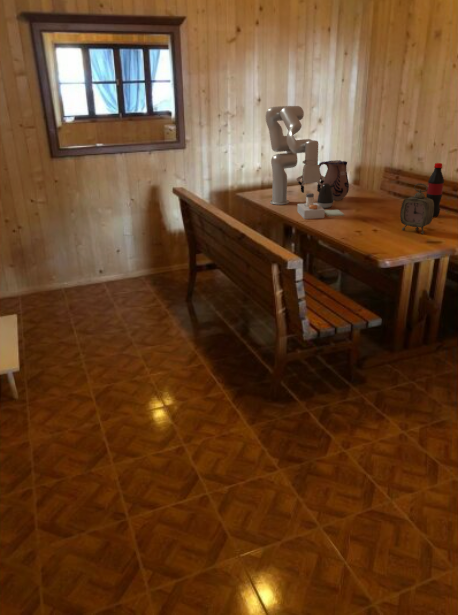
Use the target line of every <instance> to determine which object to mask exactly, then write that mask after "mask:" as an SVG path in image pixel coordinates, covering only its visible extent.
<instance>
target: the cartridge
mask: <svg viewBox="0 0 458 615" xmlns="http://www.w3.org/2000/svg"><path fill="white" fill-rule="evenodd" d="M305 196H306V197H305V203H306V207H309V205H313V203H314V201H315V200H314V196H315V194H314V193H312V192H310V193H309V192H308V193H306V195H305Z"/></svg>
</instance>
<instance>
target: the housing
mask: <svg viewBox="0 0 458 615" xmlns="http://www.w3.org/2000/svg"><path fill="white" fill-rule="evenodd" d="M313 205H317V209H309V207H306V202H305V203H297V213H298V214H299V215H300V216H301V217H302V219H304V220H307V219H308V220H309V219H311V220H312V219H325V215H326V214H325V210H326V208H322V207H321V206H320V205H319V204H318V202H313Z"/></svg>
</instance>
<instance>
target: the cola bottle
mask: <svg viewBox="0 0 458 615" xmlns="http://www.w3.org/2000/svg"><path fill="white" fill-rule="evenodd" d="M433 166H434V167H433V168H434V170H433V171H432V173H431V175H430V177H429V179H428V181H427V190H426V198H430V199H432V200H433V202H434V213H433V218H435V217H438V216H439V214H440V211H441V208H440V203H441V200H442V197H443V192H444V191H443V190H444V184H445V178H444V175H443V173H442V168H443V163H441V162H436V163H435V164H434V165H433Z"/></svg>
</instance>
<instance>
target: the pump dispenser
mask: <svg viewBox="0 0 458 615" xmlns="http://www.w3.org/2000/svg"><path fill="white" fill-rule="evenodd" d="M334 186H335V185H331V186H330V185H329V184H328V183H325V184H323V185H322V187H321V190H320V192H318V196H317V202H316V203H317V204H319V205H320V206H321V207H322V208H323V209H330V208H331V207H332V206H333V204H334V201H335V200H334V197H333V191H332V187H334Z"/></svg>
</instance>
